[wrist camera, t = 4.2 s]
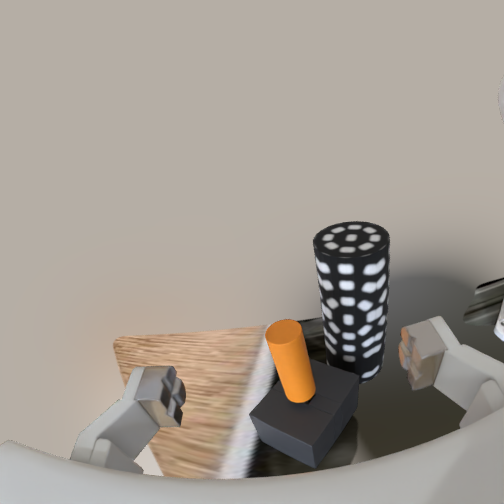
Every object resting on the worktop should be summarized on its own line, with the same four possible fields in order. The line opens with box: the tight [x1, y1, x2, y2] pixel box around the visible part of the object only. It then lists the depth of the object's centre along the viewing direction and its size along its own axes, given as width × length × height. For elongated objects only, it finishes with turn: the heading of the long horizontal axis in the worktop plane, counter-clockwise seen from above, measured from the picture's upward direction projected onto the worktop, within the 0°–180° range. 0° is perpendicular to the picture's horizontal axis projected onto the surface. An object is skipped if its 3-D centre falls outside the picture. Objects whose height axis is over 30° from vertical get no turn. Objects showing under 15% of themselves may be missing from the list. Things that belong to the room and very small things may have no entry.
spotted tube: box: [313, 221, 390, 384], centre depth 35 cm, size 8×8×20 cm
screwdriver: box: [265, 319, 316, 405], centre depth 29 cm, size 3×3×17 cm
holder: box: [249, 358, 359, 469], centre depth 31 cm, size 10×8×7 cm
